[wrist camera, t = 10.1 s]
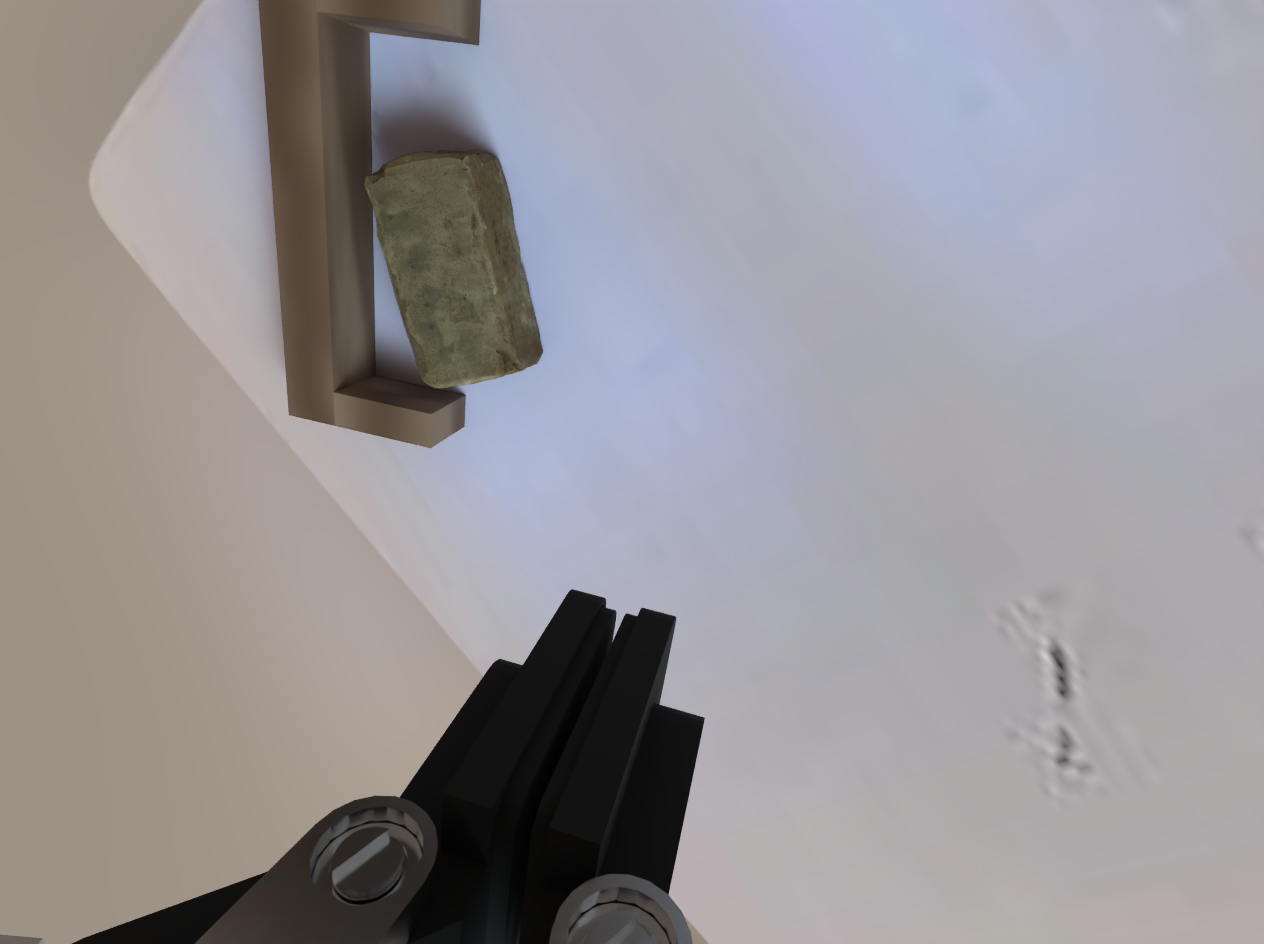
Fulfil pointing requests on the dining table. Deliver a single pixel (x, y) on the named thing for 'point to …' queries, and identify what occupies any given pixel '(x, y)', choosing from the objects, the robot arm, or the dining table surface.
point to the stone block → (455, 265)
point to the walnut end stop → (340, 208)
